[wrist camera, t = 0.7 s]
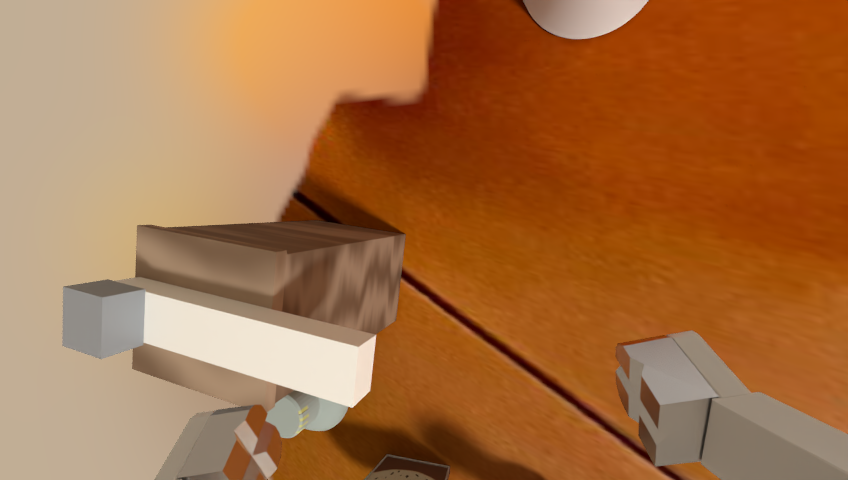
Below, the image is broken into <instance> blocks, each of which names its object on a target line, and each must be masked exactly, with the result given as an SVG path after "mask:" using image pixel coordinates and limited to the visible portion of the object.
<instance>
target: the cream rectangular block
mask: <svg viewBox="0 0 848 480" xmlns="http://www.w3.org/2000/svg"><path fill="white" fill-rule="evenodd" d="M375 341H376V335H375V334H371V333H367V332H363V331H359V330H354V329H350V328H346V327H342V326H338V325H334V324H330V323H326V322H322V321H318V320H314V319H310V318H306V317H301V316H297V315H293V314H289V313H285V312H281V311H277V310H273V309H269V308H265V307H261V306H257V305H252V304H248V303H244V302H240V301H236V300H232V299H228V298H224V297H220V296H216V295H212V294H208V293H204V292H199V291H195V290H191V289H187V288H183V287H179V286H175V285H171V284H167V283H163V282H159V281H155V280H150V279H146V278H142V277H136V278H130V279H124V280H118V281H112V280H102V281H96V282H90V283H83V284H77V285H71V286H64V287H63V346H65V347H68V348H71V349H74V350H76V351H79V352H82V353H85V354H88V355H91V356H94V357H96V358H99V359H103V358H106V357H109V356H112V355H115V354H118V353H121V352H124V351H127V350H130V349H133V348H136V347H139V346H142V345H143V343H146V344H150V345H153V346H156V347H159V348H162V349H166V350H169V351H172V352H175V353H178V354H182V355H185V356H188V357H191V358H194V359H198V360H201V361H204V362H207V363H210V364H214V365H217V366H220V367H223V368H226V369H230V370H233V371H236V372H239V373H242V374H245V375H249V376H252V377H255V378H258V379H261V380H265V381H268V382H271V383H274V384H277V385H281V386H284V387H287V388H290V389H293V390H297V391H300V392H303V393H306V394H309V395H313V396H316V397H319V398H322V399H325V400H329V401H332V402H335V403H338V404H341V405H345V406H348V407H351V408H353V407H354V406H355V405H356V404H357V403H358V402H359V401H360V400H361V399H362V398H363V397H364V396H365V395H366V394H367V393H368V392H369V391H370V387H371V378H372V369H373V359H374V350H375Z"/></svg>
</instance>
